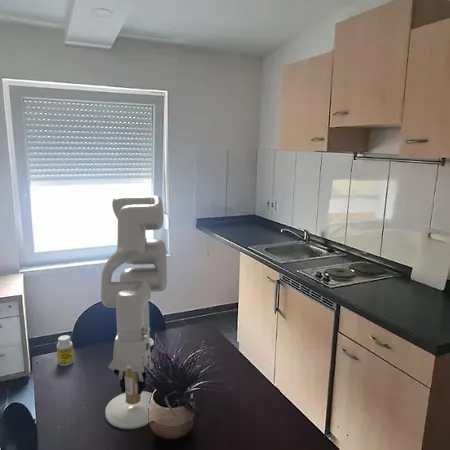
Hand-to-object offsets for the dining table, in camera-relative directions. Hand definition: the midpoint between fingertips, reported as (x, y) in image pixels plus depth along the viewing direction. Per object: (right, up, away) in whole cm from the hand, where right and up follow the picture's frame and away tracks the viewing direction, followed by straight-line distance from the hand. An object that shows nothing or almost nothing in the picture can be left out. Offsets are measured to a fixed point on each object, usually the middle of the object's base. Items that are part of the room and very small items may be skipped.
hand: (132, 390), depth 119 cm
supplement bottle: (-30, -1, +28) cm, 41 cm away
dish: (0, -7, +1) cm, 7 cm away
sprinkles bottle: (0, -3, +1) cm, 4 cm away
